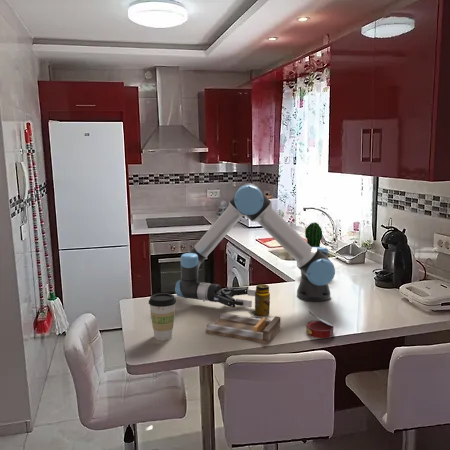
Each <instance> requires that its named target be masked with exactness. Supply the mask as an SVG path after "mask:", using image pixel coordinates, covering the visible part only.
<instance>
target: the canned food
mask: <svg viewBox="0 0 450 450" xmlns="http://www.w3.org/2000/svg"><path fill="white" fill-rule="evenodd" d="M307 311H308V313H309V314H310V315H312V316H313V317H315V318H316V319H317V320H310V321H308V322H306V330H305V331H306V334H307V335H308V336H310V337H313V338H317V339H329V338H331V337H333V336H334V327H335V326H334V324H332V323H331V322H329V321H326V320H324V319H322V318H320V317H318V316H316V315H314V313H312V312H311V311H310V310H309V309H308V310H307Z"/></svg>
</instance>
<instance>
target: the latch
mask: <svg viewBox="0 0 450 450" xmlns="http://www.w3.org/2000/svg"><path fill="white" fill-rule="evenodd" d="M260 319H261V320H260V321H259V322H258V323H257V324H256V325H255V326H254V331H256V332H261V331H262V329H263V328H264V327H265V326H266V320H267V318H266V317H261V318H260Z"/></svg>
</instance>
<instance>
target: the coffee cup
mask: <svg viewBox="0 0 450 450" xmlns="http://www.w3.org/2000/svg"><path fill="white" fill-rule="evenodd" d="M176 303H177V298H176V297H175V295H174V294H172V293H167V292H161V293H160V292H159V293H156V294H152V295H151V296H150V298H149V299H148V305H149V307H150V309H149V310H150V311H149V312H150V320H151V324H152V329H153V336H154V339H155V340H156V341H168V340H170V339H172V337H173V329H174V323H175V322H174V321H175V313H176Z"/></svg>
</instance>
